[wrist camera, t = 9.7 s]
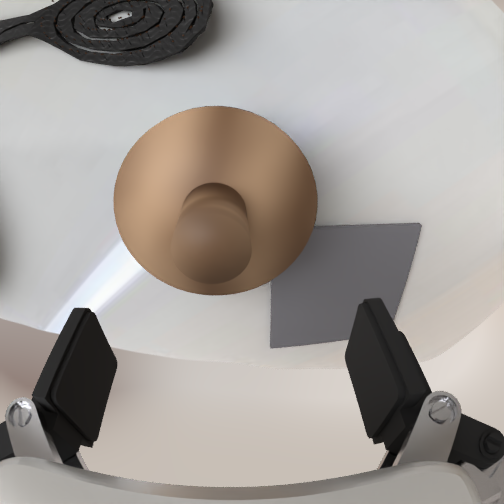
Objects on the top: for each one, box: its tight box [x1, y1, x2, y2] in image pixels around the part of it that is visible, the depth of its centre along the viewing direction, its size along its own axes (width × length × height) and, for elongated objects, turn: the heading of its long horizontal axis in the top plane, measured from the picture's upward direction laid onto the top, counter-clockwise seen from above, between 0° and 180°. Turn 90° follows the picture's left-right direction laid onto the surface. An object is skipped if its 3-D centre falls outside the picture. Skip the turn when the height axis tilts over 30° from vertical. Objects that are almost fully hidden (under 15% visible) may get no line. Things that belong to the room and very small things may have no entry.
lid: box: [114, 106, 317, 295], centre depth 17 cm, size 13×13×6 cm
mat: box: [270, 223, 422, 348], centre depth 31 cm, size 15×15×1 cm
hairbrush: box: [0, 0, 213, 66], centre depth 14 cm, size 8×4×25 cm
